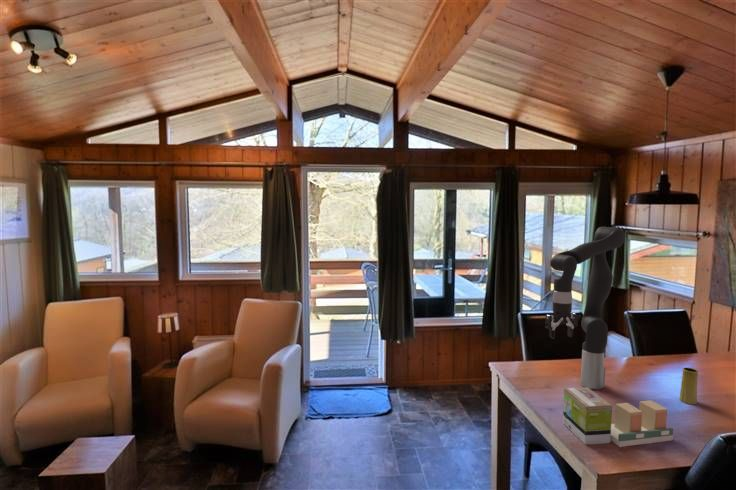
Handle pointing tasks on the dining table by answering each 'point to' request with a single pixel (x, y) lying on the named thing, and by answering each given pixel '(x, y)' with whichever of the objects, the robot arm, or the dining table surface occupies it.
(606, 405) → the tea box
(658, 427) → the faced carton
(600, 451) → the dining table surface
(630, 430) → the carton
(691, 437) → the dining table surface
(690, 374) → the vase
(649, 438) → the white flat slab
